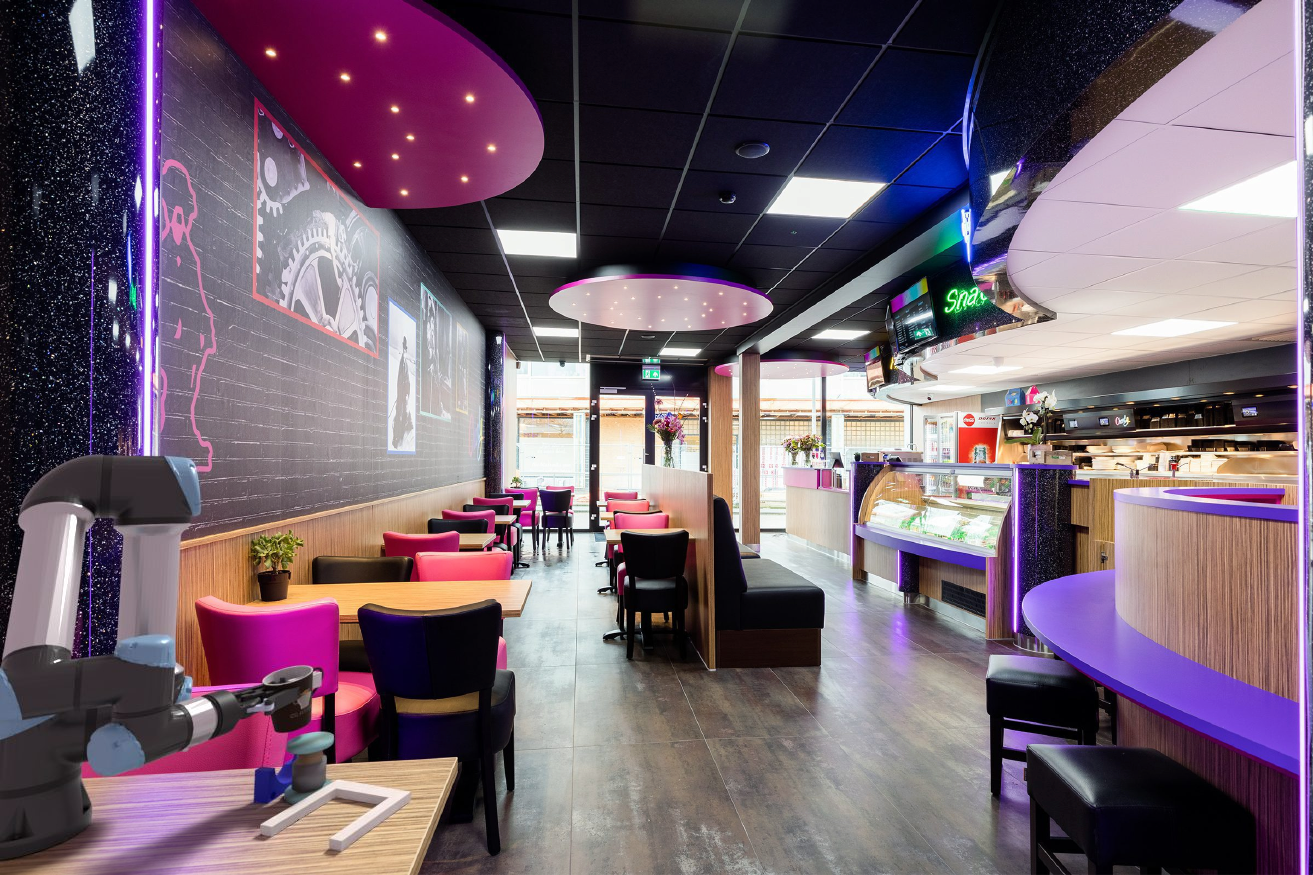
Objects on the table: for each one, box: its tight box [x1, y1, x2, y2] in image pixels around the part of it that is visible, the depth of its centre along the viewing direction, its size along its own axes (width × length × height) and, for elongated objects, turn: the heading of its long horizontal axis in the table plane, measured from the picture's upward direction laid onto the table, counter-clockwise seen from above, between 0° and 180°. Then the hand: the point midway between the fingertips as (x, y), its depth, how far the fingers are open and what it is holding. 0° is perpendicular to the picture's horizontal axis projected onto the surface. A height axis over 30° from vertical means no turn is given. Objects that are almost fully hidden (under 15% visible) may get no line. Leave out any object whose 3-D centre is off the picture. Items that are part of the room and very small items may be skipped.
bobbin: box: [283, 731, 335, 805], centre depth 121 cm, size 8×8×10 cm
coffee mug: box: [262, 665, 325, 734], centre depth 125 cm, size 12×9×10 cm
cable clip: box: [253, 754, 297, 805], centre depth 124 cm, size 12×4×6 cm, turn 171°
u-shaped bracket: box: [259, 779, 412, 852], centre depth 113 cm, size 17×17×2 cm
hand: (317, 678), depth 130 cm, fingers closed on coffee mug
